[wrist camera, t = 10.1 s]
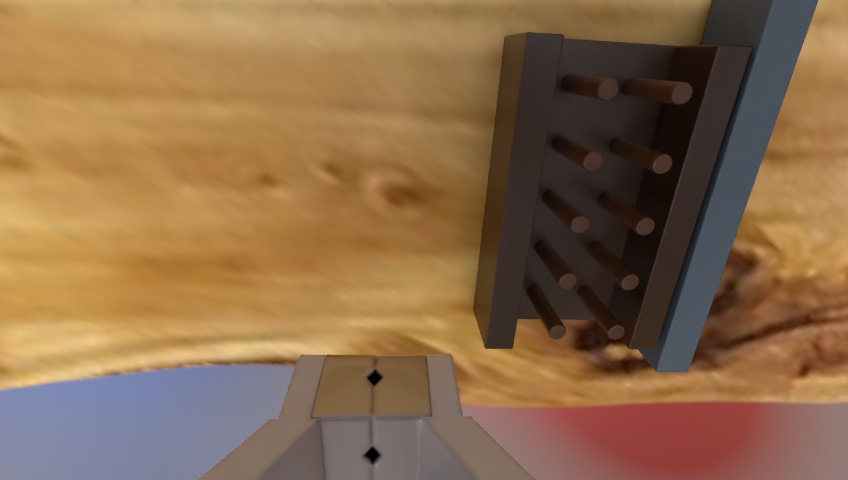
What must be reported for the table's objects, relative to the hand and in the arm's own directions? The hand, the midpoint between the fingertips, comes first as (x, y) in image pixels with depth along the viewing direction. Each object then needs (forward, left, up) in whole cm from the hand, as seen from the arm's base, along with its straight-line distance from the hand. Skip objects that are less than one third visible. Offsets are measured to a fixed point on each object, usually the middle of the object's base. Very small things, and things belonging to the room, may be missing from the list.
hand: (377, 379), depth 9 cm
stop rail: (-13, +11, -17) cm, 24 cm away
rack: (-8, +8, -17) cm, 20 cm away
